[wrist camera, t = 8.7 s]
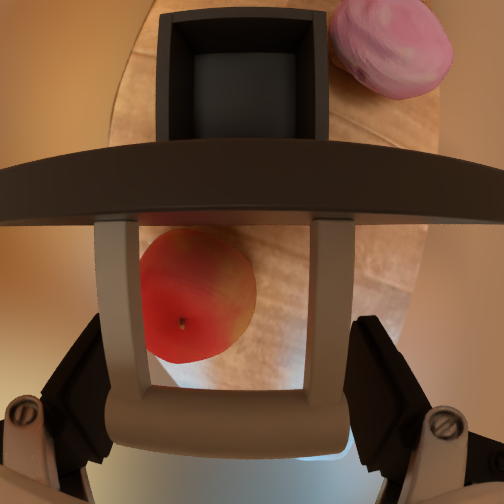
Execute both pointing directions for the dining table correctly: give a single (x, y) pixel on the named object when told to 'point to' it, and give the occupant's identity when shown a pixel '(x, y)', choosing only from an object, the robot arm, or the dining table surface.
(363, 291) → the dining table surface
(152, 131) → the dining table surface
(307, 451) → the bin lid
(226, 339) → the apple
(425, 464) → the robot arm
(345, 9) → the cupcake
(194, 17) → the open square bin
